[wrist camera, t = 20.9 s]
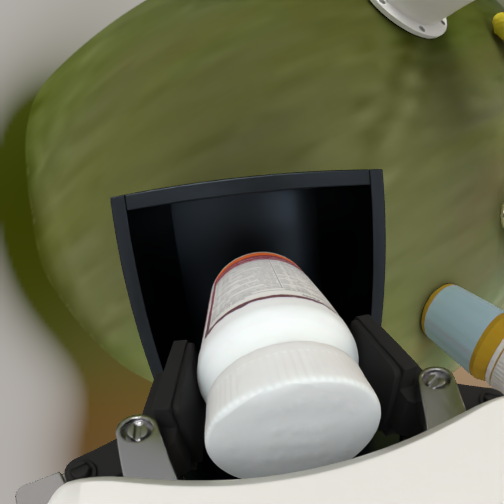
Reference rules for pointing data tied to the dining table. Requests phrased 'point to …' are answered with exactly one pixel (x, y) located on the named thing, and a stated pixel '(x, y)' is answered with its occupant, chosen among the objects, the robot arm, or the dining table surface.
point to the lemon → (499, 25)
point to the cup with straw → (502, 215)
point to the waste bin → (248, 245)
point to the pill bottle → (279, 373)
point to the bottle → (467, 332)
